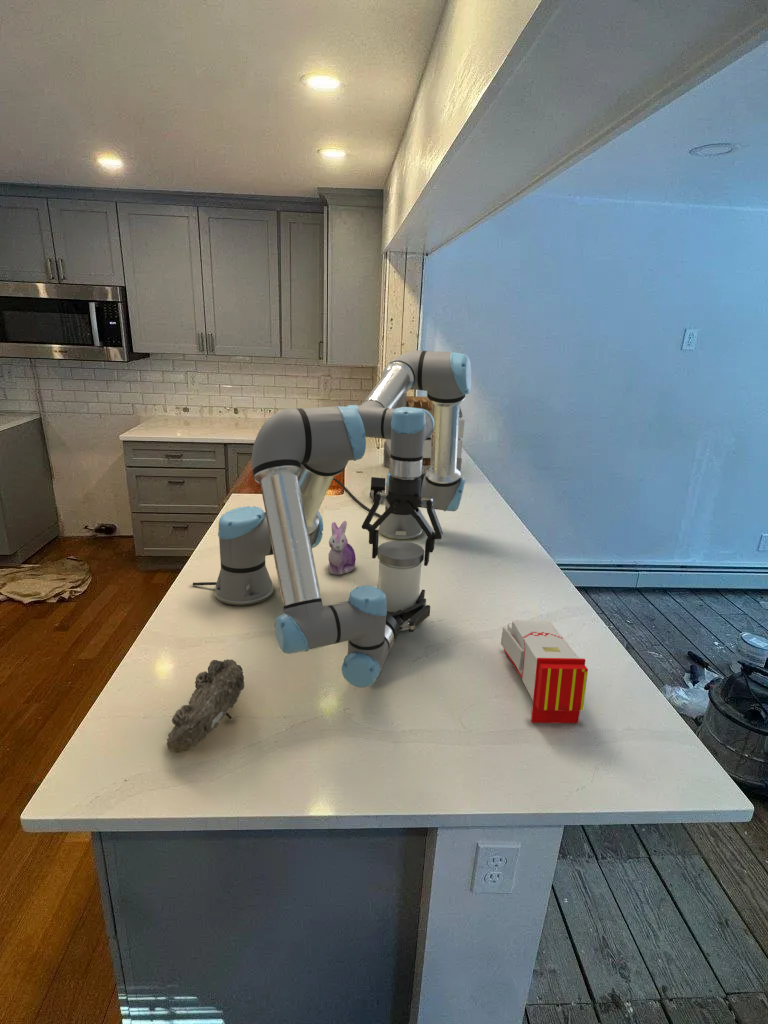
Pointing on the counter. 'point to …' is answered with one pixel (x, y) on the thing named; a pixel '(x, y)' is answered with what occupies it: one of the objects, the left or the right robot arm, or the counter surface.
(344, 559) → the figurine
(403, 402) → the white slatted crate
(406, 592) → the jar
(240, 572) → the left robot arm
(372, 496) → the figurine character
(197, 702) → the fossil
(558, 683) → the toy
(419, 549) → the lid
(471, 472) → the counter surface
